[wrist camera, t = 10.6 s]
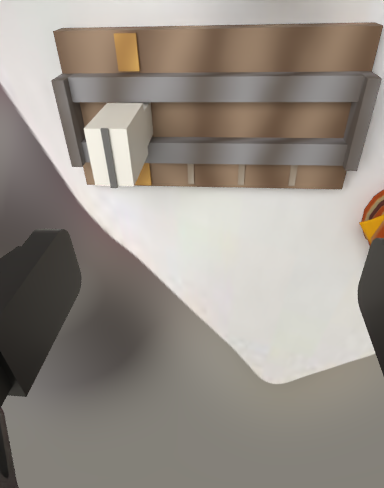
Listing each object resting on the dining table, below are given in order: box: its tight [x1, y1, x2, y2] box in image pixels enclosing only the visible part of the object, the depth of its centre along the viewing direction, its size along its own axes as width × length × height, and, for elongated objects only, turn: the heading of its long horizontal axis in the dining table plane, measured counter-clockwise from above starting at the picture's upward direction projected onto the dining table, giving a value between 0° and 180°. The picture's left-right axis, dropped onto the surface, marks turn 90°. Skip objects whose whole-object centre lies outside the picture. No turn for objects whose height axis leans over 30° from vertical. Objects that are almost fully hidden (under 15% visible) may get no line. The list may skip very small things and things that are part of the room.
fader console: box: [52, 23, 383, 189], centre depth 33 cm, size 26×14×4 cm, turn 91°
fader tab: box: [84, 102, 153, 188], centre depth 30 cm, size 3×4×9 cm, turn 1°
